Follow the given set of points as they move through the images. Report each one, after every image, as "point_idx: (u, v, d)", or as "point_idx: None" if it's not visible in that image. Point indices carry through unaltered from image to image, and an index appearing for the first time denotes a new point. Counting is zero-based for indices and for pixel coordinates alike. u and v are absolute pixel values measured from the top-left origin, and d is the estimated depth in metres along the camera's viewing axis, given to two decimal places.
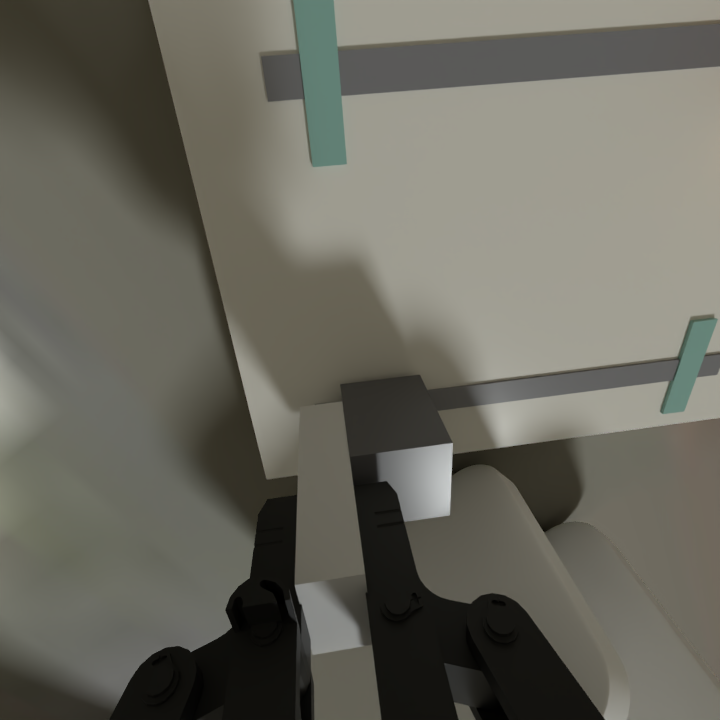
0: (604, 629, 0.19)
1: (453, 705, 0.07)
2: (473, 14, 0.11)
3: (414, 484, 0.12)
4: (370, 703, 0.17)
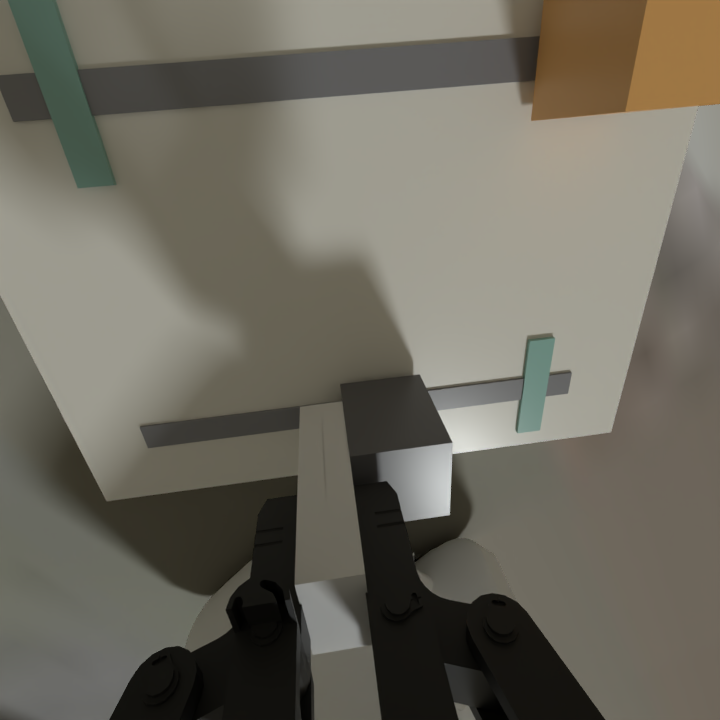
0: None
1: (453, 705, 0.07)
2: (219, 30, 0.10)
3: (414, 484, 0.12)
4: None
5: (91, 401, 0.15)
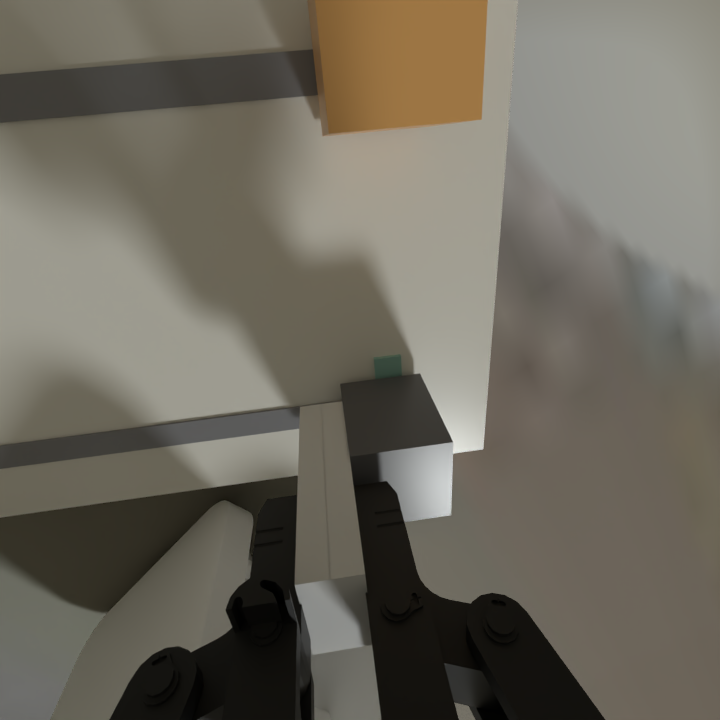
0: (339, 674, 0.18)
1: (453, 705, 0.07)
2: None
3: (414, 484, 0.12)
4: None
5: None
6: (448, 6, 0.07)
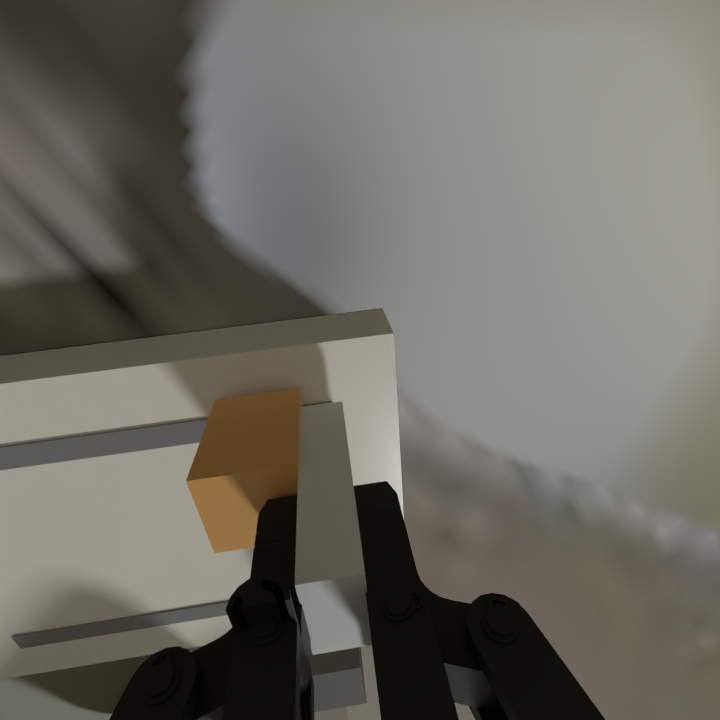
0: None
1: (453, 705, 0.07)
2: (17, 430, 0.15)
3: (336, 690, 0.17)
4: None
5: None
6: None
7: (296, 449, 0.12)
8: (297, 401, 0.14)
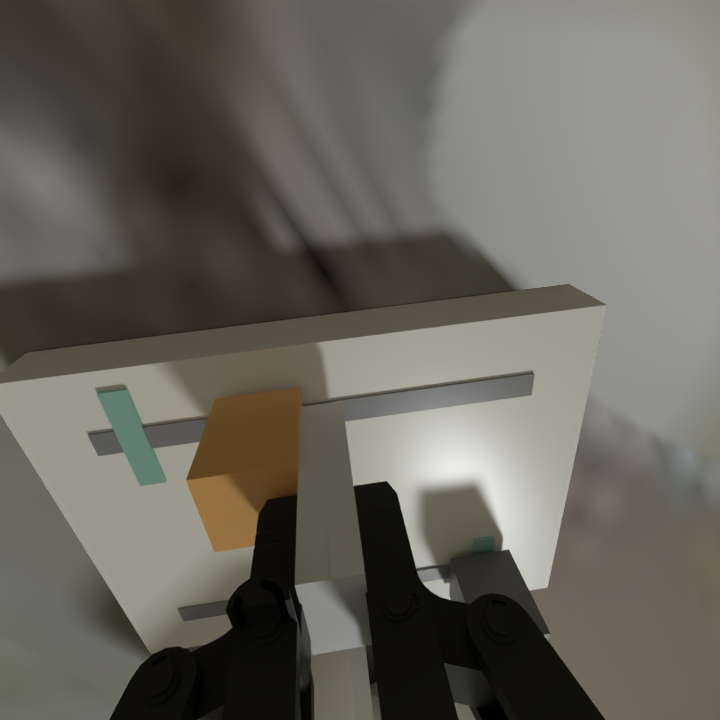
0: None
1: (454, 705, 0.07)
2: None
3: None
4: None
5: (142, 596, 0.20)
6: None
7: (296, 448, 0.12)
8: (297, 401, 0.14)
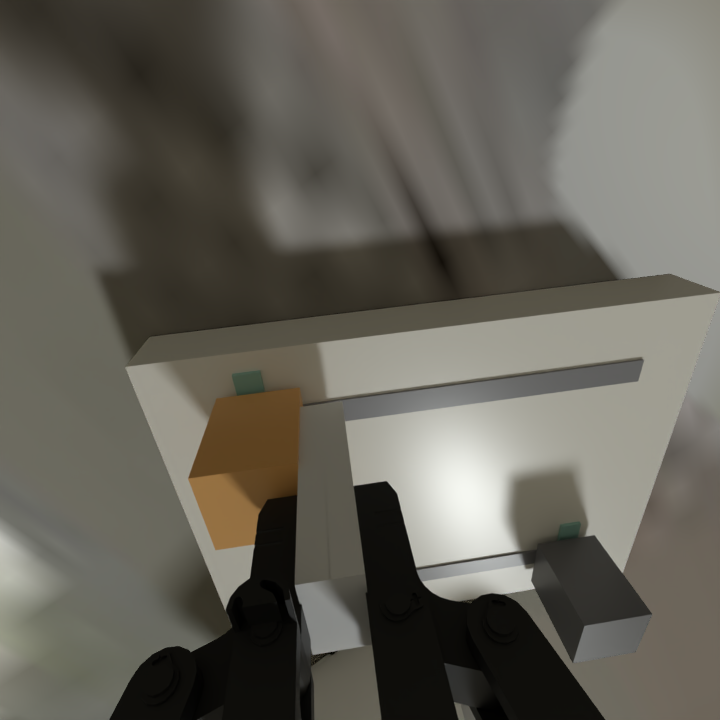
0: None
1: (453, 705, 0.07)
2: (363, 382, 0.16)
3: (619, 637, 0.18)
4: None
5: (238, 579, 0.20)
6: None
7: (297, 447, 0.12)
8: (298, 401, 0.14)
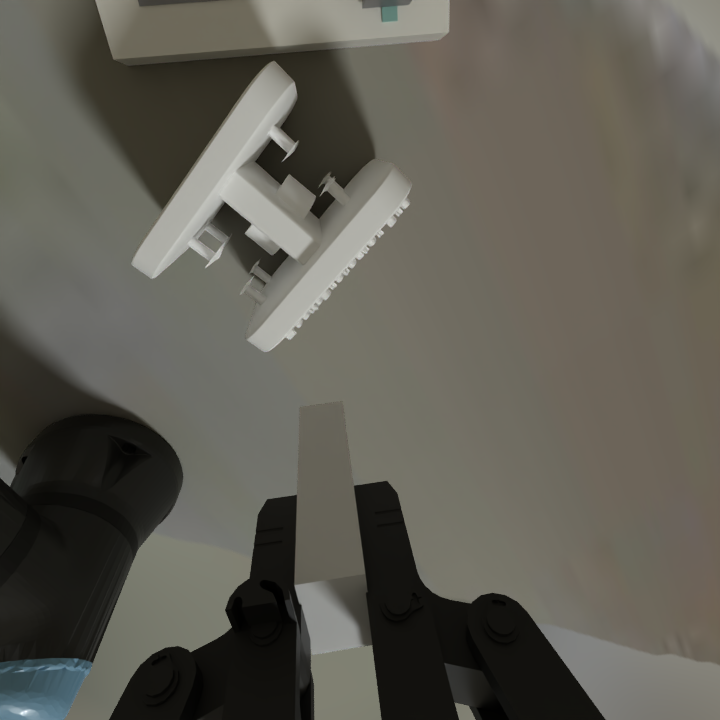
0: (355, 187, 0.28)
1: (454, 705, 0.07)
2: None
3: None
4: None
5: None
6: None
7: None
8: None
